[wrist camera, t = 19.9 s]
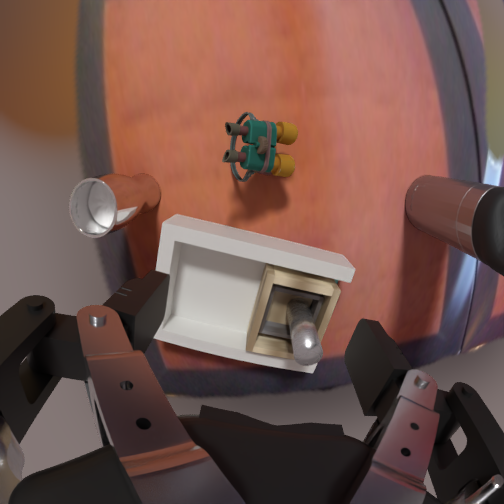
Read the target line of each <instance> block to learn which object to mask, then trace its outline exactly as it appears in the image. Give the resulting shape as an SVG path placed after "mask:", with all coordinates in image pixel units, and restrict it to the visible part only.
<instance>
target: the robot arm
mask: <svg viewBox="0 0 504 504" xmlns="http://www.w3.org/2000/svg"><path fill="white" fill-rule="evenodd" d="M405 207H406V213H407V216H408V218H409V220H410V222H411V223H412V224H413V225H414V226H415V227H416V228H418V229H419V230H421V231H423V232H425V233H427V234H429V235H431V236H433V237H435V238H437V239H439V240H441V241H443V242H445V243H447V244H449V245H451V246H453V247H455V248H457V249H459V250H461V251H463V252H464V253H466V254H468V255H470V256H472V257H474V258H476V259H478V260H479V261H481V262H483V263H485V264H486V265H488V266H490V267H491V268H492V269H493V270H495V271H496V272H498V273H499V274H501V275H503V276H504V187H500V186H494V185H489V184H483V183H477V182H471V181H465V180H459V179H452V178H445V177H439V176H431V175H425V176H422V177H419V178H418V179H416V180H415V181H414V182H413V183H412V184H411V186H410V188H409V190H408V192H407V195H406V202H405ZM169 282H170V275H169V274H167V273H163V272H159V271H155V270H151V271H150V272H149V273H148V274H147V275H146V276H145V277H144V278H143V279H140V278H134V279H132V280H129V281H127V282H126V283H125V284H124V285H123V286H121V288H119V289H118V290H117V291H116V293H114V294H113V295H112V296H111V297H110V298H109V299H108V300H107V301H106V302H105V303H104V304H103V305H90V306H86V307H84V308H82V309H80V310H79V311H78V313H77V316H71V315H64V314H58V313H55V305H54V302H53V301H52V300H50V299H49V298H47V297H44V296H39V295H33V296H28V297H25V298H23V299H21V300H20V301H18V302H17V303H16V304H15V305H13V306H12V307H11V308H10V309H8V310H7V311H6V312H5V313H3V314H2V315H1V316H0V504H504V433H503V431H502V429H501V428H500V427H499V425H498V423H497V422H496V420H495V418H494V417H493V415H492V414H491V412H490V411H489V409H488V408H487V406H486V405H485V403H484V402H483V400H482V399H481V397H480V396H479V394H478V393H477V392H476V391H475V390H474V389H473V388H472V387H471V386H469V385H467V384H465V383H462V382H457V383H455V384H454V385H453V387H452V388H451V390H450V391H449V392H447V391H443V390H439V389H437V383H436V381H435V380H434V379H433V378H432V377H431V376H430V375H428V374H427V373H425V372H423V371H420V370H415V369H414V370H413V368H412V367H411V365H410V364H409V362H408V361H407V359H406V358H405V356H404V355H402V354H403V353H402V352H401V350H400V349H399V347H398V346H397V344H396V343H395V341H394V340H393V339H392V338H391V337H389V336H388V335H387V333H386V332H385V330H384V329H383V327H382V326H381V324H380V323H379V322H378V321H374V320H368V319H361V320H360V321H359V322H358V324H357V326H356V329H355V331H354V333H353V335H352V338H351V340H350V342H349V344H348V346H347V348H346V351H345V364H346V366H347V369H348V372H349V374H350V377H351V380H352V383H353V385H354V388H355V391H356V393H357V396H358V399H359V402H360V405H361V407H362V410H363V413H364V415H365V416H377V417H378V418H377V419H376V420H375V422H374V423H373V425H372V427H371V429H370V430H369V432H368V434H367V435H366V437H365V439H364V441H363V442H361V441H360V440H358V439H355V438H353V437H350V436H347V435H344V432H343V428H342V425H335V424H321V423H302V424H292V425H280V426H276V425H271V424H269V423H265V422H262V421H259V420H257V419H254V418H251V417H249V416H246V415H243V414H240V413H238V412H233V411H227V410H223V409H218V408H213V407H209V406H205V405H202V406H201V410H200V415H180V416H177V415H176V414H175V412H174V410H173V408H172V407H171V405H170V403H169V401H168V400H167V398H166V396H165V394H164V392H163V391H162V389H161V387H160V385H159V383H158V381H157V379H156V378H155V376H154V374H153V372H152V370H151V368H150V366H149V364H148V362H147V360H146V358H145V356H144V353H145V352H146V350H147V348H148V346H149V345H150V343H151V341H152V339H153V338H154V336H155V334H156V332H157V331H158V329H159V327H160V325H161V324H162V322H163V319H164V316H165V311H166V304H167V297H168V289H169ZM26 356H27V358H26V359H25V360H24V361H23V359H24V358H25V357H26ZM22 361H23V362H22ZM21 362H22V363H21ZM20 364H21V365H20ZM62 377H64V378H70V379H76V380H83V381H84V386H85V390H86V394H87V398H88V401H89V405H90V408H91V412H92V415H93V418H94V422H95V425H96V429H97V433H98V436H99V439H100V443H101V446H102V448H99V449H97V450H95V451H92V452H90V453H87V454H85V455H82V456H80V457H78V458H75V459H72V460H70V461H67V462H65V463H62V464H59V465H56V466H53V467H50V468H47V469H45V470H42V471H38V472H36V473H33V474H31V475H29V476H27V477H25V478H24V479H23V480H22V469H23V466H24V453H23V451H22V449H21V447H20V445H19V444H20V442H21V440H22V439H23V437H24V435H25V434H26V432H27V431H28V429H29V427H30V426H31V424H32V422H33V421H34V419H35V418H36V416H37V414H38V413H39V411H40V410H41V408H42V407H43V405H44V403H45V402H46V400H47V399H48V397H49V396H50V394H51V393H52V391H53V390H54V388H55V387H56V385H57V384H58V382H59V381H60V379H61V378H62ZM460 426H461V427H462V429H463V431H464V433H465V435H466V437H467V445H466V448H465V449H464V450H463V452H462V453H461V454H460V455H459V456H458V454H457V452H456V450H455V448H454V446H453V444H452V441H451V440H450V438H451V437H452V435H453V434H454V433H455V432H456V431H457V429H458V428H459V427H460ZM427 469H428V472H429V475H430V478H431V481H432V484H433V486H434V489H435V492H436V495H437V498H435V497H434V496H433V495H431V494H430V493H429V492H427V491H426V486H425V485H424V483H423V482H424V478H425V475H426V471H427Z"/></svg>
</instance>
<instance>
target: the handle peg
mask: <svg viewBox="0 0 504 504" xmlns="http://www.w3.org/2000/svg"><path fill="white" fill-rule="evenodd" d="M286 309H287V316H288V322H289V328H290V334H291V341H292V347H293V354H294V359H295V361H296V362H297V363H298V364H300V365H303V366H310V365H313V364H316V363H317V362H318V361H319V360H320V359H321V358H322V356H323V350H322V347H321V343H320V340H319V337H318V333H317V330H316V327H315V324H314V321H313V317H312V314H311V311H310V308H309V305H308V302H307V301H306V300H305V299H303V298H294V299H292V300H291V301H289V303H288V304H287V308H286Z"/></svg>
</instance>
